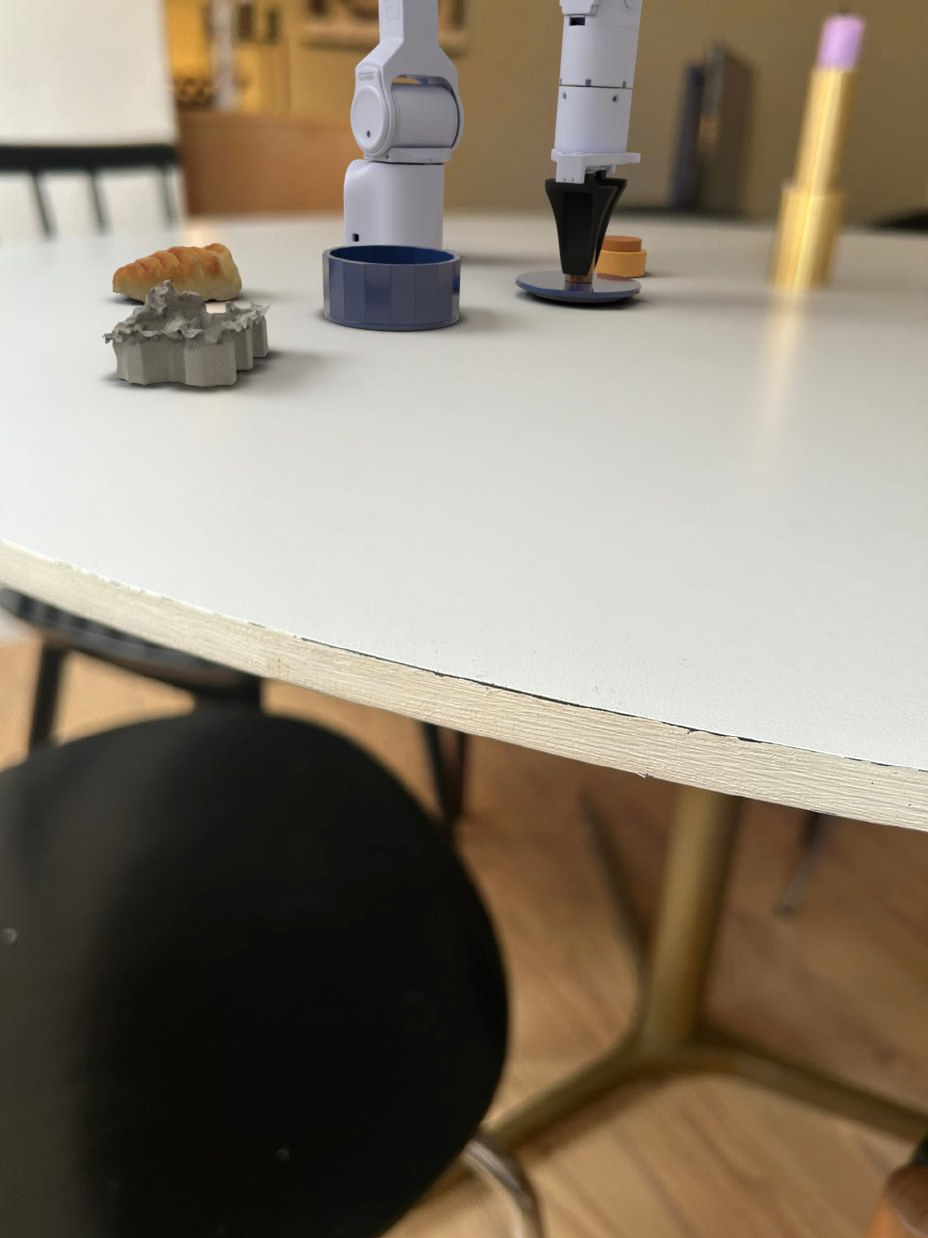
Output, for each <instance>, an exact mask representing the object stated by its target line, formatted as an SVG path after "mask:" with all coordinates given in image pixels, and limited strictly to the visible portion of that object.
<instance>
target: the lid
mask: <svg viewBox="0 0 928 1238" xmlns="http://www.w3.org/2000/svg"><path fill="white" fill-rule="evenodd" d="M595 253H596V249H595ZM595 253H594V258H593V262H592V265H591V268H590V271H589V273H588V275H587V276H581V275H570V274H563V272H562V269H558V270H556V269H555V270H554V269H553V270H550V269H549V270H537V271H536V270H535V271H528V272H524V273H523V272H522V273H520V274H518V275H516V277H515V285H516V286H517V287H518V288H520V289H522V290H525V291H528V292H531V293H532V294H533V295H535V296H538V297H540V298H544V299H547V300H552V301H558V302H568V303H581V304H582V303H583V304H584V303H585V304H600V303H601V304H602V303H611V302H617V301H621V300H622V299H623V298H628V297H633V296H636V295H638V294H640V293H641V291H642V284H641V282H640V281H638V280H636V279H633V278H631V277H623V276H618V275H612V274H605V273H597V272H594V263H595Z"/></svg>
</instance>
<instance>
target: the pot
mask: <svg viewBox="0 0 928 1238" xmlns="http://www.w3.org/2000/svg"><path fill="white" fill-rule="evenodd" d="M442 249H443V248H442ZM442 249H437V248H429V247H421V246H409V245H389V244H372V245H371V244H366V245H348V246H345V245H341V246H333V247H331V248H326V249H324V250H323V252H322V253H321V257H322V258H321V260H322V288H323V290H322V293H323V294H322V295H323V297H322V298H323V311H324V317H325V318H326V319H327V320H328V321H331V322H333V323H334V324H338V325H341V326H345V327H351V328H356V329H365V330H372V331H387V332H388V331H389V332H390V331H391V332H394V331H395V332H403V331H404V332H409V331H413V332H414V331H426V330H433V329H434V330H435V329H440V328H444V327H448V326H451V325H454V324H455V323H457V322H458V320H459V315H460V297H461V296H460V295H461V271H462V270H461V269H462V258H461V254H458V253H456V252H455V253H454V252H451V251H447V250H448V249H443V250H442Z"/></svg>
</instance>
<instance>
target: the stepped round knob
mask: <svg viewBox="0 0 928 1238" xmlns="http://www.w3.org/2000/svg"><path fill="white" fill-rule="evenodd" d="M642 245H643V239H642V238H641V237H636V236H630V235H629V236H628V235H614V234H613V235H612V234H611V235H610V234H609V235H605V238H604V241H603V245H602V249H601V252H600V256H599V259H598V262H597V265H596V267H595V270H594V272H597V273H605V274H612V275H618V276H623V277H627V278H639V277H642V276H644V275H645V272H646V263H647V255H648V251H647V250H646V249H644V248H642Z"/></svg>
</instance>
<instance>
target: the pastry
mask: <svg viewBox="0 0 928 1238" xmlns="http://www.w3.org/2000/svg"><path fill="white" fill-rule="evenodd" d="M112 276H113V277H112V281H111V283H112V293H115V294H120V295H123V296H126V297H127V298H128V297H129V298H131V299H134V300H137V301H140V302H141V301H142V302H143V304H145V301H146V295H147V293H148V292H149V291H150V290H151V289H152V287H156V286H157V284H158V283H159V282H161V284H163V283H164V281H166V280H169V279H171V280H172V282H171V283H172V286H173V289H177V290H180V291H182V292H184V291H191V292H195V293H197V294H199V295H200V296H201V297H202V298H203V300H204V302H208V301H209V300H211V299H212V300H213V299H214V300H216V301H219V302H220V301H230V300H233V299H235V298H238V297H239V294H240V292H241V290H242V289H243V281H242V278H241V274H240V272H239V268H238V266H237V264H236V263H235V262H234V259H233V255H232V253H231V251H230V249H229V248H228V247H227V246H226V245H224V244H222V243H220V242H213V243H211V244H209V245H205V246H202V247H198V246H182V245H176V246H175V245H174V246H171V247H169V248H167V249H165V250H157V251H154V252H153V253H152V254H150V255H147V256H145V257H141V258H138V259H135V260H134V262H129V263H127V264H125V265H124V266H121V267H119V268H118V269H116V270H115V272H114V273H113V275H112Z"/></svg>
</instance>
